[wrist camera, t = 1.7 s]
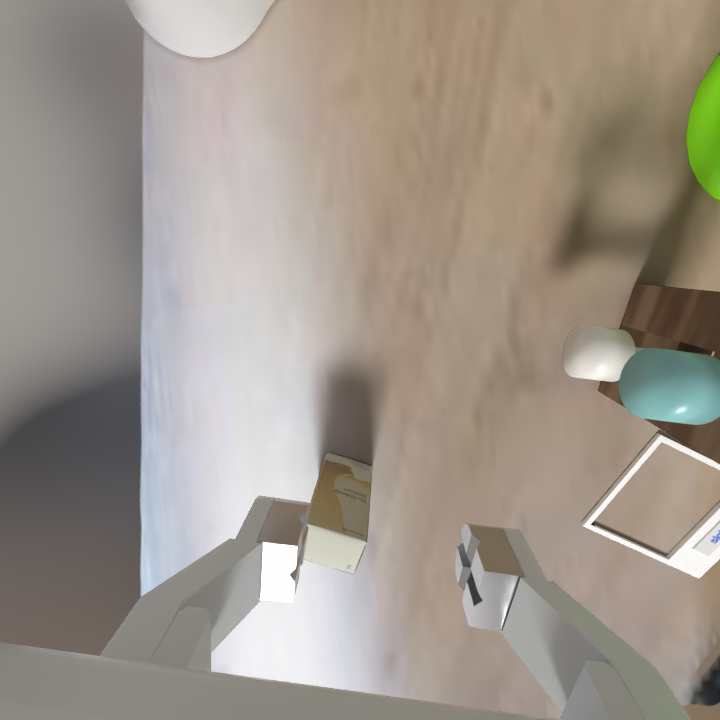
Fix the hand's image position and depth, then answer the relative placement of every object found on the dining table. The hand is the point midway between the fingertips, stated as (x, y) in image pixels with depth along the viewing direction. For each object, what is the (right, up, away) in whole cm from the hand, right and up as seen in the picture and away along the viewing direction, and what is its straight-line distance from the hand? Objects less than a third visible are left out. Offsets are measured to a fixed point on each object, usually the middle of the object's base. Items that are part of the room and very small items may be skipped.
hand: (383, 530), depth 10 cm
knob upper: (+23, +3, +13) cm, 27 cm away
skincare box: (-3, -9, +34) cm, 35 cm away
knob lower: (+24, +5, +20) cm, 32 cm away
